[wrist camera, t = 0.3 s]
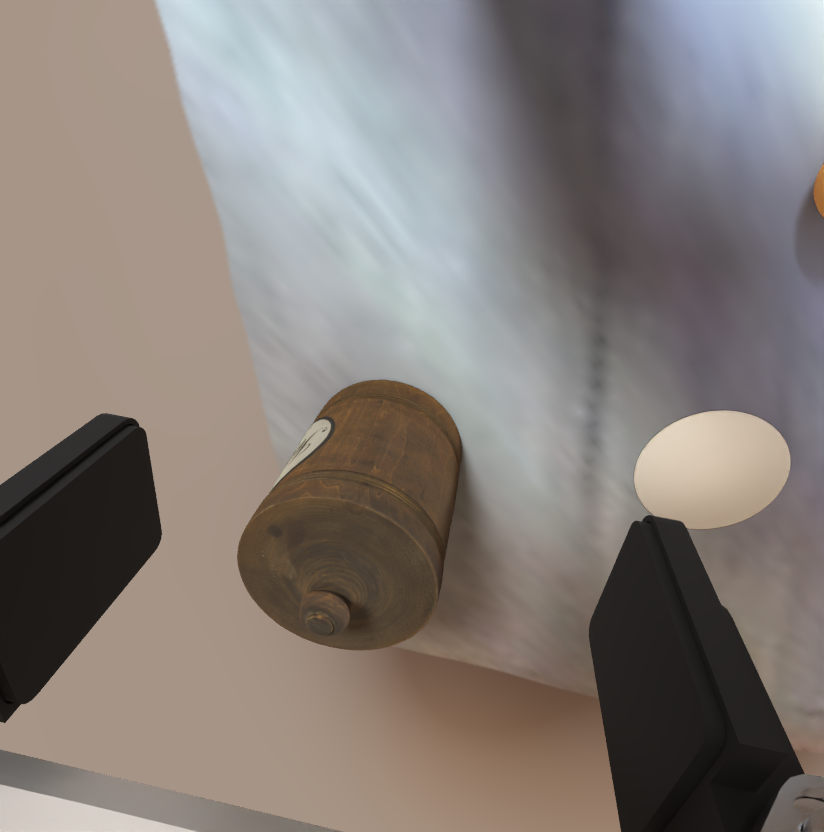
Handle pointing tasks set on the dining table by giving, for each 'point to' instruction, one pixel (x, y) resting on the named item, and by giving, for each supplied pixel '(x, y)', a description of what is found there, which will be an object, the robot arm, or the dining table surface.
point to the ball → (819, 191)
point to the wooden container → (358, 520)
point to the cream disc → (712, 469)
